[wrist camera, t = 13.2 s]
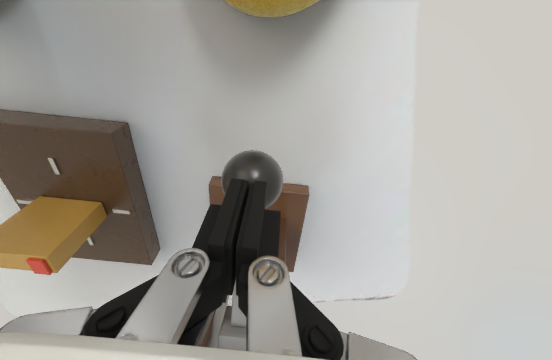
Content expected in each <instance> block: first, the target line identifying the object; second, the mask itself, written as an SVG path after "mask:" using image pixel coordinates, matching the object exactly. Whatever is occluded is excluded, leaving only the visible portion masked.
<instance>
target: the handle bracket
mask: <svg viewBox="0 0 552 360" xmlns="http://www.w3.org/2000/svg"><path fill="white" fill-rule="evenodd" d="M221 180H222V177H214V176H213V177H212V178H211V181H210V183H209V195H210V205H211V204H216V205H222V202H223V199H224V197H225V194H224V192H223V189H222V183H221ZM308 198H309V188H308V186H303V185H293V184H283V187H282V191H281V194H280V196H279V197H278V199H277V200H276V201H275V203H273V204H272V205H271V206H270V207H268V208H266V210H276V211H281V217H280V236H279V255H278V258H279V259H280V260H282V261H283V262H284V263H285V264H286V266H287V268H288V271H289V272H293V271H294V266H295V261H296V256H297V252H298V247H299V242H300V237H301V232H302V227H303V222H304V217H305V213H306V208H307V203H308ZM228 298H229V295H228V296H227V300H226V303H222V306H220V307H219V308H217V309H216V310H215V311H214V314H213V317H212V320H211V322H210V325H209V327H208V330H207V332H206V334H205V337H204V339H203V342H202V344H201V347H209V348H218V335H219V331H220V328H221V325H222V321H223V318H224V314H225V311H226V307H227V303H228Z"/></svg>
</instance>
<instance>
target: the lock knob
mask: <svg viewBox="0 0 552 360" xmlns="http://www.w3.org/2000/svg"><path fill="white" fill-rule="evenodd" d="M106 217H107V215H106V212H105V210H104V207H103V205H102V202H94V201H84V200H74V199H64V198H54V197H44V196H39V197H38V198H36V199H35V200H34V201H32V202H31V203H30V204H28V205H27V206H26V207H24V208H23V209H21V210H20V211H19V212H17V213H16V214H15V215H13V216H12V217H11V218H9V219H8V220H7V221H5V222H4V223H3V224H1V225H0V268H11V269H21V270H31V271H34V273H37V274H47V275H50V274H51V273H57V272H58V271H59V270H60V269H61V268H62V267H63V266H64V265H65V263H66V262H67V261H68V260H69V259H70V258H71V257H72V256H73V254H74V253H75V252H76V251H77V250H78V249H79V248H80V247H81V245H82V244H83V243H84V242H85V241H86V240H87V239H88V238H89V237H90V235H91V234H92V233H93V232H94V231H95V230H96V229H97V228H98V226H99V225H100V224H101V223H102V222H103V221H104V220H105V219H106Z"/></svg>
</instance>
